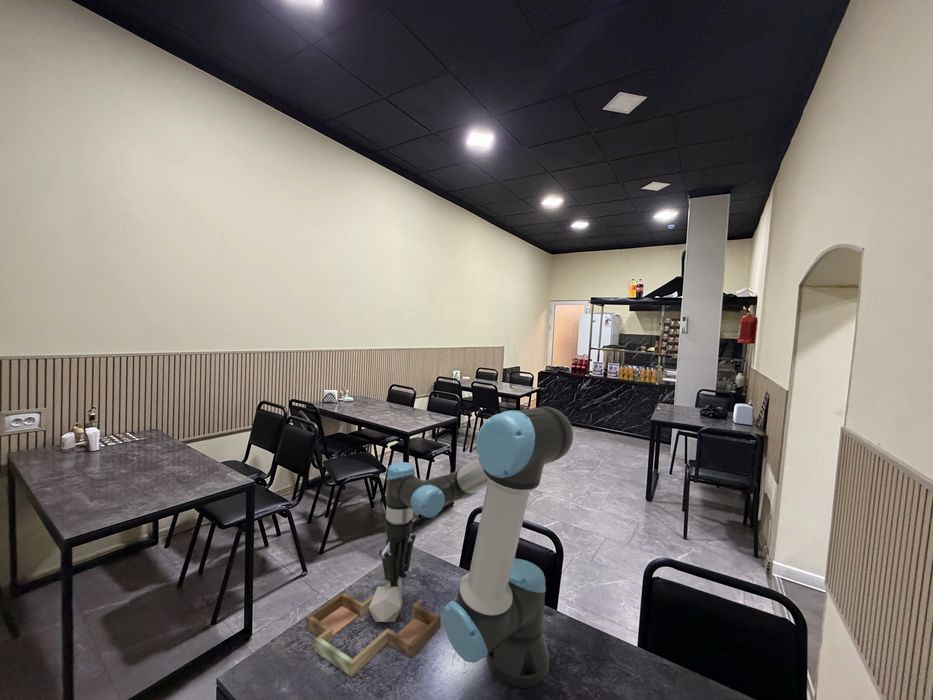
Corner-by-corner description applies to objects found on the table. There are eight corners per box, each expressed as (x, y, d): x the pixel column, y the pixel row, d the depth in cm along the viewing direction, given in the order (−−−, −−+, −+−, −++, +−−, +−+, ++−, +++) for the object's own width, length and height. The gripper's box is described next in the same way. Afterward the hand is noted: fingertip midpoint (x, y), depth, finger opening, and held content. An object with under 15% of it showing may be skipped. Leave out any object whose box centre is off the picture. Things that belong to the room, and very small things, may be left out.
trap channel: (445, 622, 105) (446, 611, 105) (377, 695, 83) (378, 681, 83) (369, 583, 120) (369, 573, 120) (294, 636, 98) (294, 625, 98)
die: (386, 639, 100) (408, 602, 102) (358, 618, 100) (381, 582, 103) (390, 624, 108) (411, 590, 110) (364, 605, 109) (385, 572, 111)
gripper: (404, 506, 116) (401, 583, 117) (372, 523, 105) (369, 607, 106) (423, 513, 112) (420, 592, 113) (393, 532, 101) (390, 619, 102)
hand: (396, 599), depth 109 cm, fingers closed
